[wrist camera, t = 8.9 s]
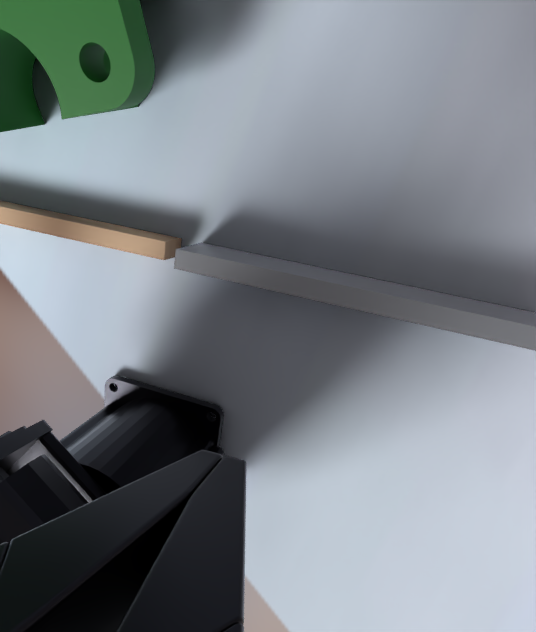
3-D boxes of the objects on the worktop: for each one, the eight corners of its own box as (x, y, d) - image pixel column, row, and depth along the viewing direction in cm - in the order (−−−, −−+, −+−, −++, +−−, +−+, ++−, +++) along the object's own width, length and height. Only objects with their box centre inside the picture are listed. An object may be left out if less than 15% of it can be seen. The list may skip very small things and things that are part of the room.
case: (199, 259, 20) (173, 268, 17) (248, -183, 15) (220, -253, 12) (529, 332, 17) (551, 353, 14) (725, -192, 12) (806, -287, 9)
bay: (-43, 206, 23) (-72, 207, 21) (-69, -176, 18) (-109, -207, 16) (180, 255, 20) (163, 260, 18) (221, -182, 15) (203, -221, 14)
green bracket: (79, 118, 24) (-109, 152, 18) (36, -11, 21) (-204, -22, 15) (237, 87, 17) (12, 126, 11) (202, -113, 14) (-123, -207, 8)
